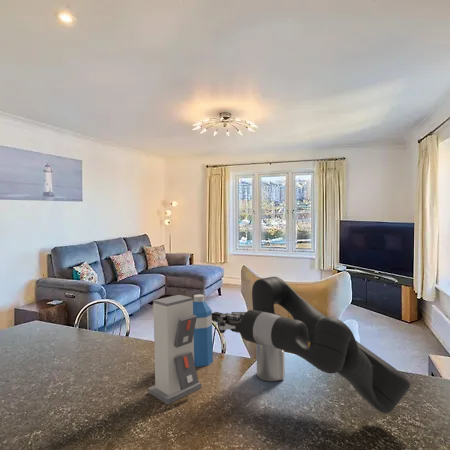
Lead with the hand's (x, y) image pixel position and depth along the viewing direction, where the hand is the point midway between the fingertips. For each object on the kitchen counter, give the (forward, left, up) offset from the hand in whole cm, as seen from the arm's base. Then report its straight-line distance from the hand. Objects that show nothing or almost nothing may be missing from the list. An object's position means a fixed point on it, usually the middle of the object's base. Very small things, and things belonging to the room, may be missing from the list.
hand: (213, 316), depth 91 cm
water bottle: (+15, -31, -27) cm, 44 cm away
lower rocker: (+10, -6, -23) cm, 26 cm away
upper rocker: (+12, -7, -11) cm, 18 cm away
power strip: (+16, -9, -27) cm, 33 cm away
